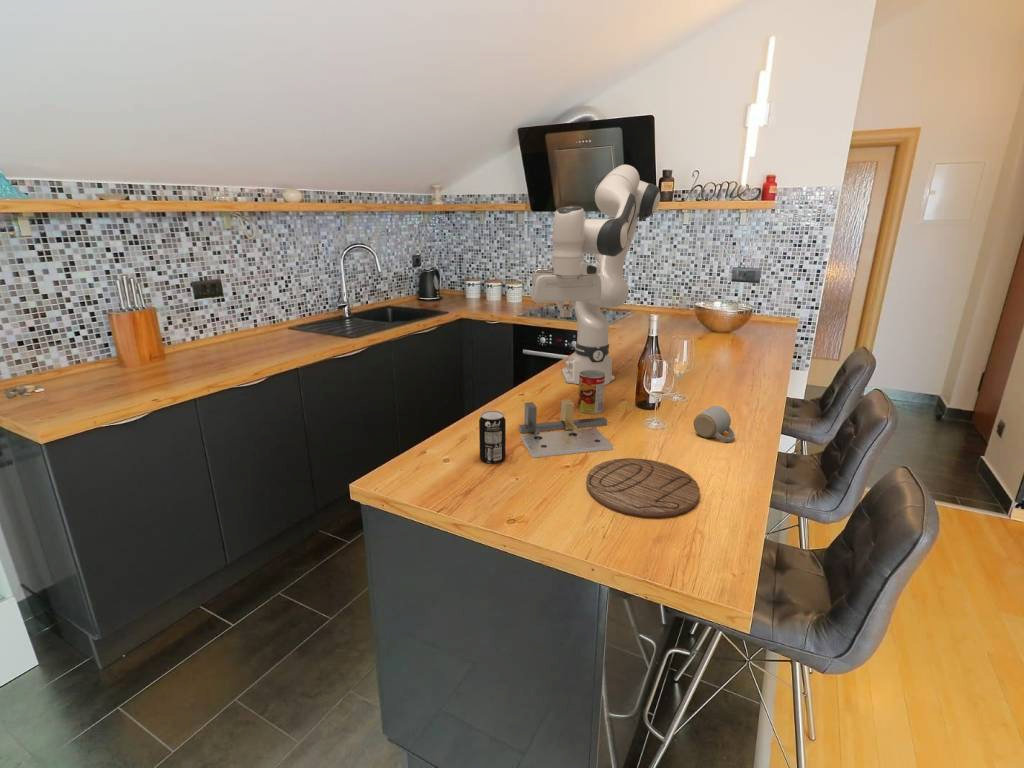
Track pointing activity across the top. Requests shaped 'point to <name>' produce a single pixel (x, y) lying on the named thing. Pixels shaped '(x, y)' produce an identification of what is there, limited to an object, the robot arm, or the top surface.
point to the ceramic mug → (714, 423)
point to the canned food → (591, 391)
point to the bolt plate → (565, 442)
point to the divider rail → (548, 426)
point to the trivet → (642, 488)
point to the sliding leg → (568, 414)
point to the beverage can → (492, 436)
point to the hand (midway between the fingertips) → (565, 316)
